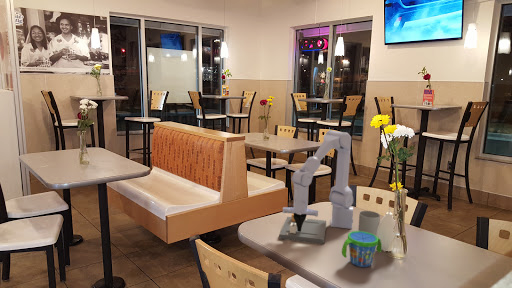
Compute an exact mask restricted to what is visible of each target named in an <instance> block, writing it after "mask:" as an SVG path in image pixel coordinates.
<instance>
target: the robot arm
mask: <svg viewBox="0 0 512 288" xmlns="http://www.w3.org/2000/svg"><path fill="white" fill-rule="evenodd" d="M351 147H352V136H351V135H350V134H349V133H348V132H347V131H346V132H344V131H343V132H342V131H338V130H337V131H336V130H332V129H329V130H328V131H326V134H324V135H323V141H322V143H321V144H320V146H319V147H318V149H317V150H316V152H315V154H314V155H313V156H309V157H308V158H307V159H306V160H305V162H303V165H302V166H301V167H300V168H299V170H296V171H294V172H293V174H292V176H291V177H290V179H291V181H292V183H293V207H292V206H291V207H288V206H287V207H286V206H284V207H282V214H291V215H292V214H294V216H293V217H294V220H295V222H296V225H297V229H298V231H299V232H301V228H302V225H303V222H304V220H305V219H307V216H312V217H313V216H314V217H317V218H318V217H319V210H315V209H311V208H308V207H309V206H308V203H309V199H308V198H309V186H310V185H311V184H312V181H313V178H314V174H315V173H316V172H317V171H318V170H319V168H320V167H321V161H322V160H323V159H324V158H325V156H326V155H327V154H329V152H330V151H331V150H332V149H335V150H336V151H337V159H336V174H335V175H336V176H335V185H334V186H332V187H331V188H330V193H329V197H328V200H329V202H330V203H331V205H332V209H331V220H330V227H331V228H332V227H333V228H342V229H349V230H350V229H351V230H352V229H353V223H354V217H353V216H354V207H353V203H354V196H353V190H352V188H350V186H349V174H350V173H349V172H350V163H351V159H350V158H351Z"/></svg>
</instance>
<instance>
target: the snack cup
mask: <svg viewBox="0 0 512 288" xmlns="http://www.w3.org/2000/svg"><path fill="white" fill-rule="evenodd" d="M347 248H349V260H350V262H351V264H352V265H354V266H356V267H360V268H368V267H371V266H372V264H373V261H374V257H375V253H376V251H377V252H378V253H381V252H382V251H383V250H382V244H381V240H380V239H379V238H378V237H377V236H375V235H373V234H371V233H368V232H363V231H358V230H354V231H350V232H349V233H348V234H347V238H346V239H345V241H344V243H343V244H342V248H341V254H342V257H344V258H348V257H347Z"/></svg>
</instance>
